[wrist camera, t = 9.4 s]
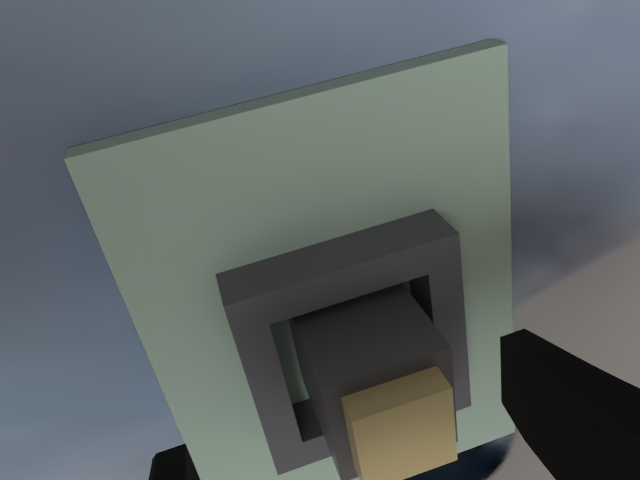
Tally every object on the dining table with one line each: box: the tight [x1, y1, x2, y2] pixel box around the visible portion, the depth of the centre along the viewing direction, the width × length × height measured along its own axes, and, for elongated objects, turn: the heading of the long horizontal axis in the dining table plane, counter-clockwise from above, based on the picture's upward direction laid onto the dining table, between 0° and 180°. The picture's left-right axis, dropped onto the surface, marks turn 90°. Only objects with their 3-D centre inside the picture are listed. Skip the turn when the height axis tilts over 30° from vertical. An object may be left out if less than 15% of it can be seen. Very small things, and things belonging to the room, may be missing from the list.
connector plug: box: [288, 283, 458, 480], centre depth 20 cm, size 4×4×6 cm
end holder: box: [64, 39, 515, 480], centre depth 22 cm, size 14×18×3 cm
